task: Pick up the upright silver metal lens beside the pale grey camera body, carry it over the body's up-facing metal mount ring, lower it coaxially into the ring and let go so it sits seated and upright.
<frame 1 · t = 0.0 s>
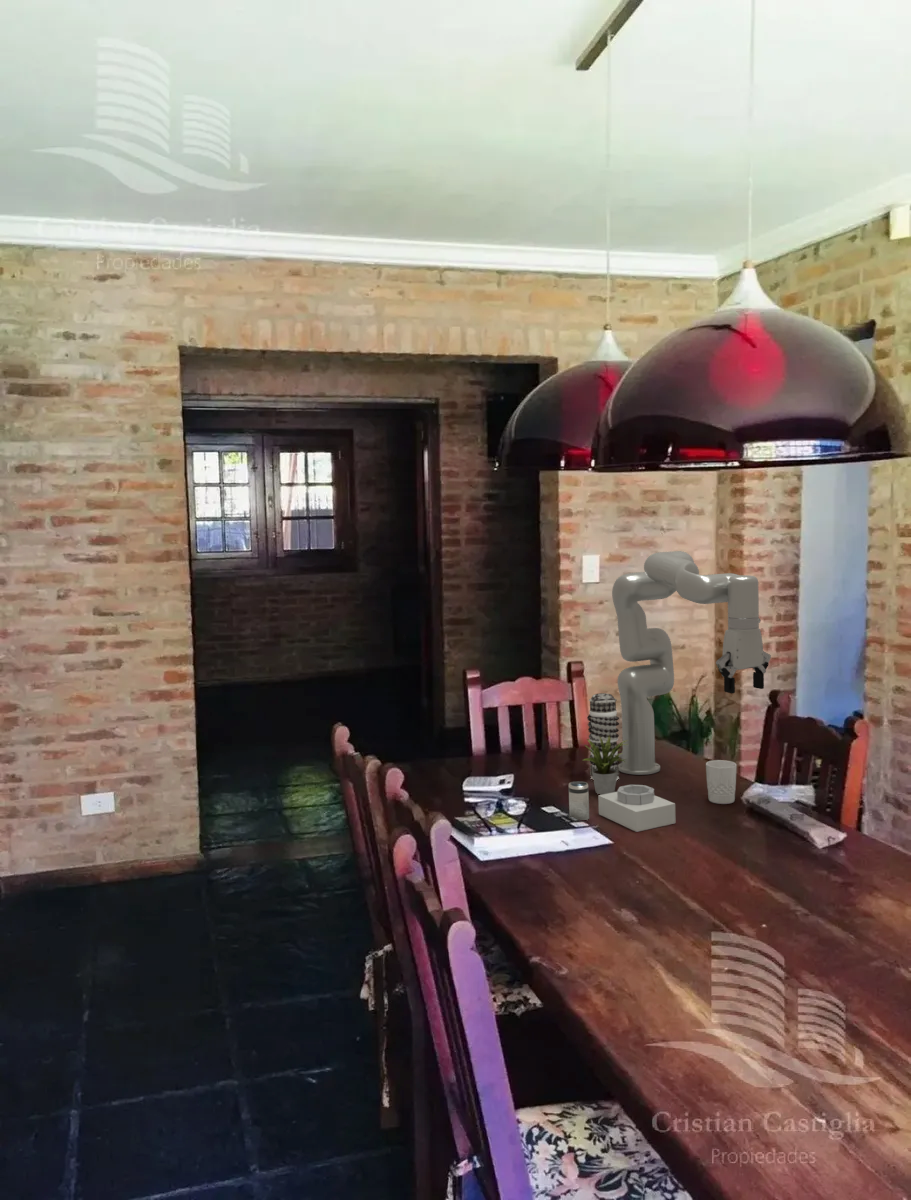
hand: (744, 690, 236), 31 cm above the table, fingers open, 9 cm apart
house plant: (607, 794, 257), on the table
decorative candle: (604, 779, 272), on the table
lens: (579, 818, 237), on the table
white cup: (721, 801, 247), on the table
camera body: (636, 818, 235), on the table
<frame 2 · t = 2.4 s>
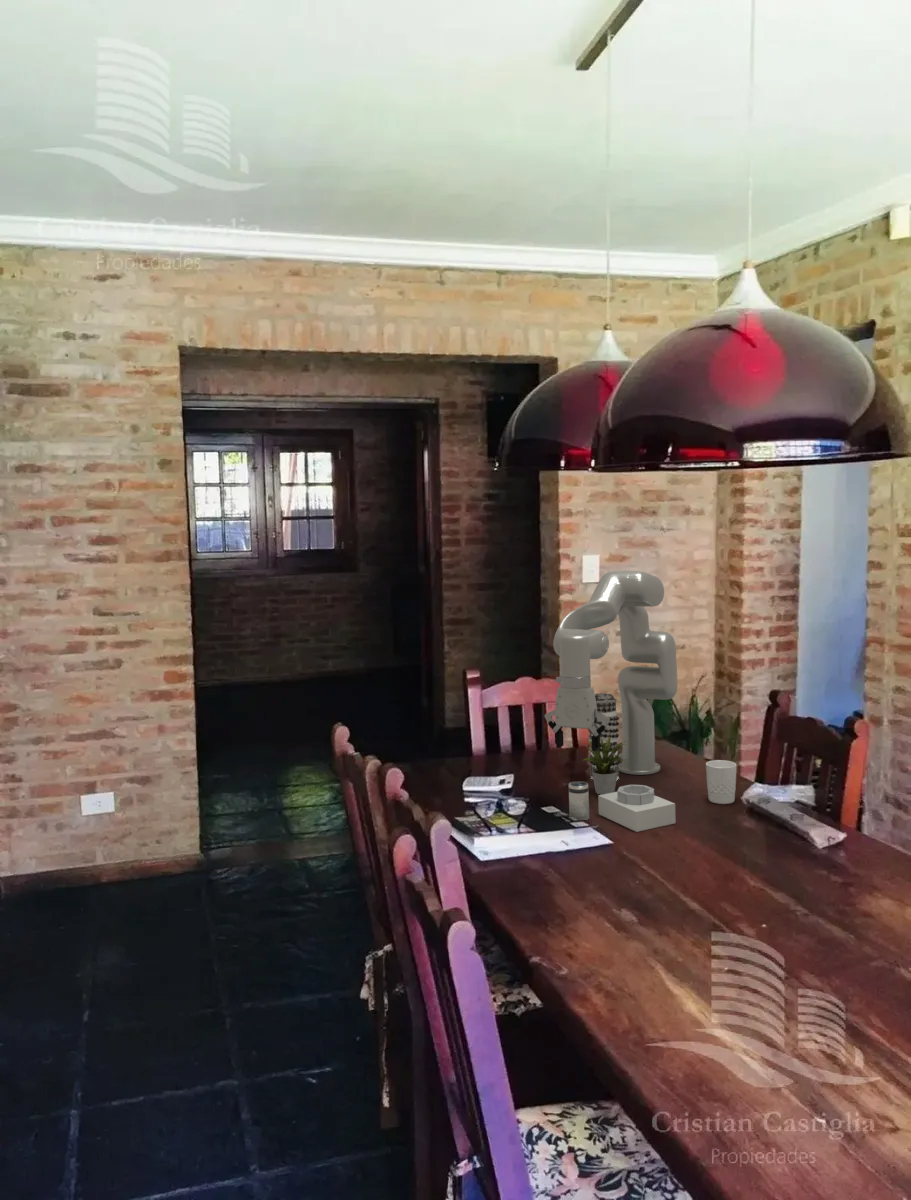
hand: (577, 748, 235), 18 cm above the table, fingers open, 9 cm apart
nothing on the table moved.
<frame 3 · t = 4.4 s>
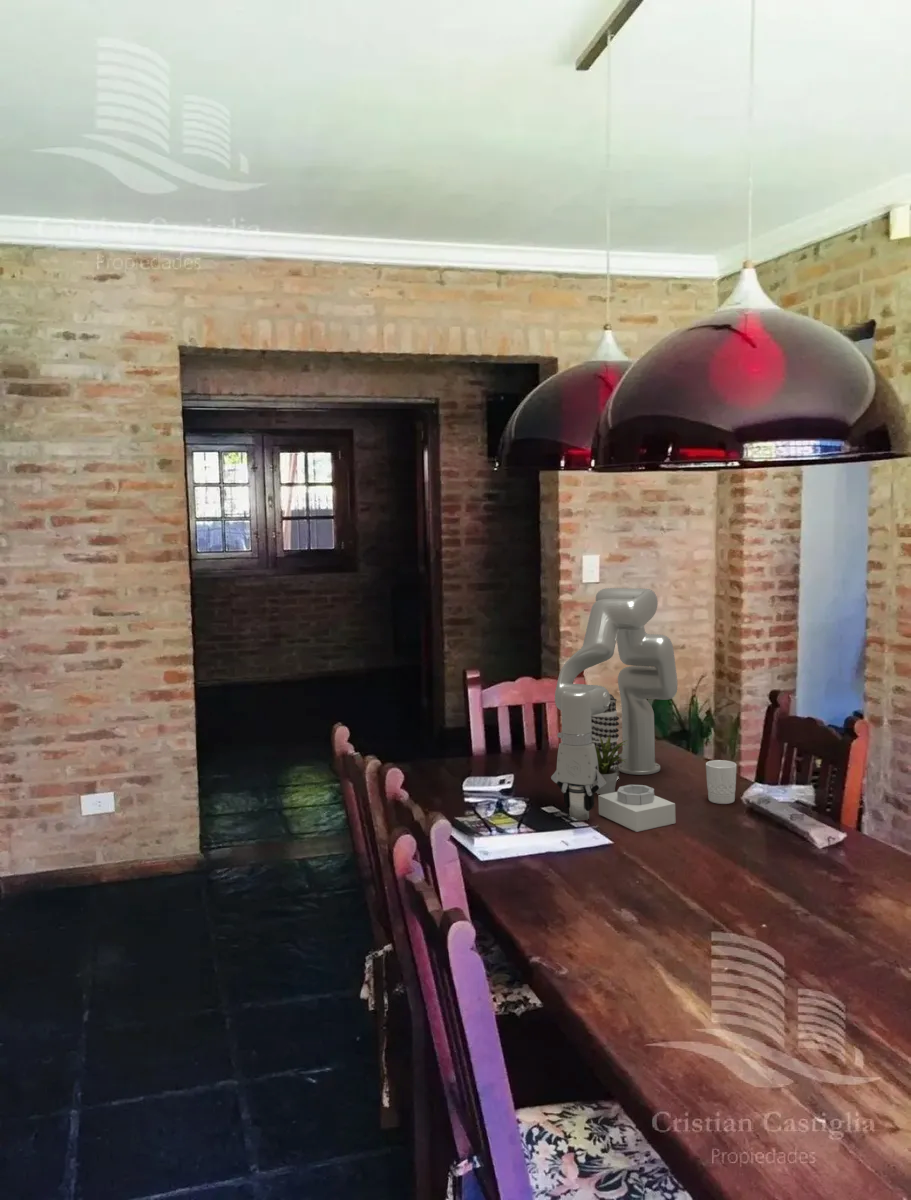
hand: (579, 807, 237), 3 cm above the table, fingers closed on lens, 5 cm apart
lens: (579, 818, 237), on the table, touching gripper
everything else where it was.
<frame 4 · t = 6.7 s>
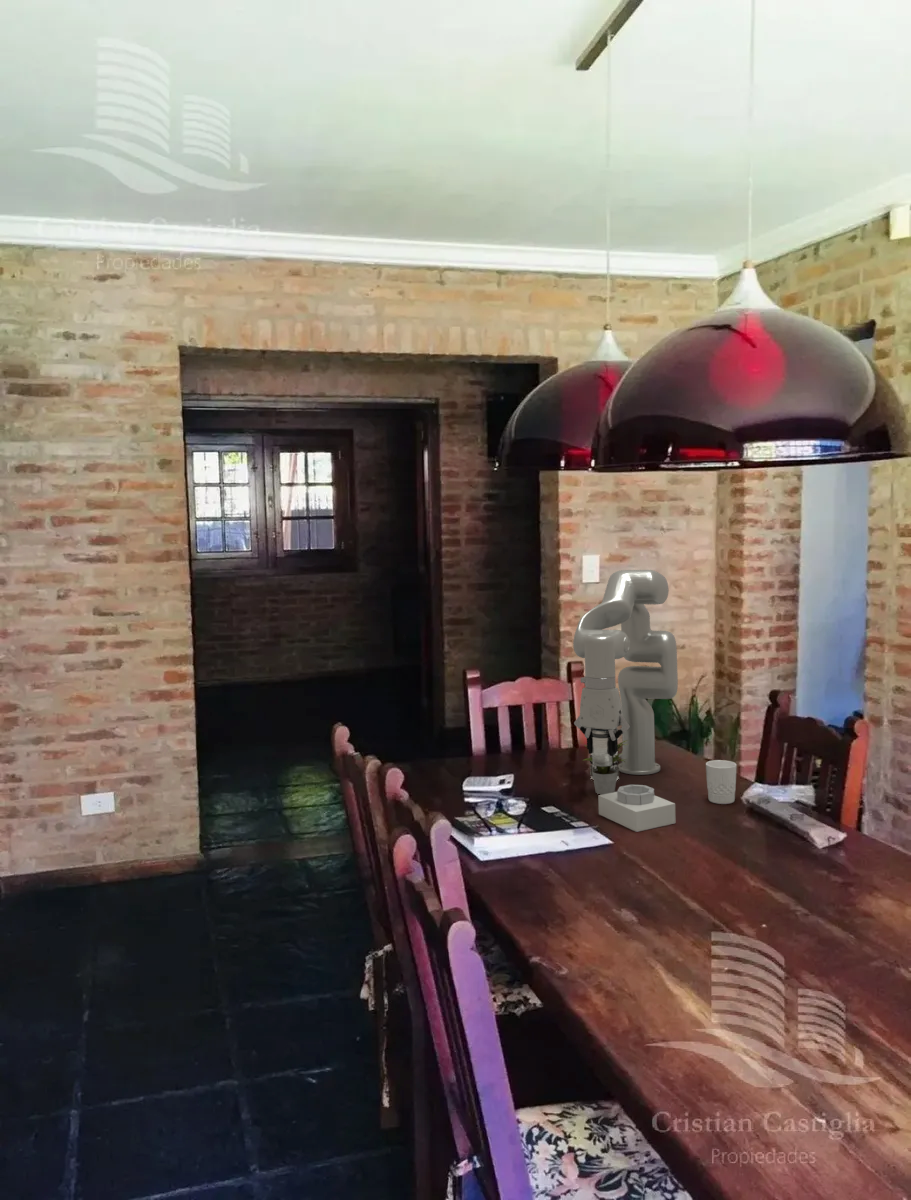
hand: (602, 752, 235), 17 cm above the table, fingers closed on lens, 5 cm apart
lens: (602, 763, 235), point 14 cm above the table, touching gripper
everything else where it was.
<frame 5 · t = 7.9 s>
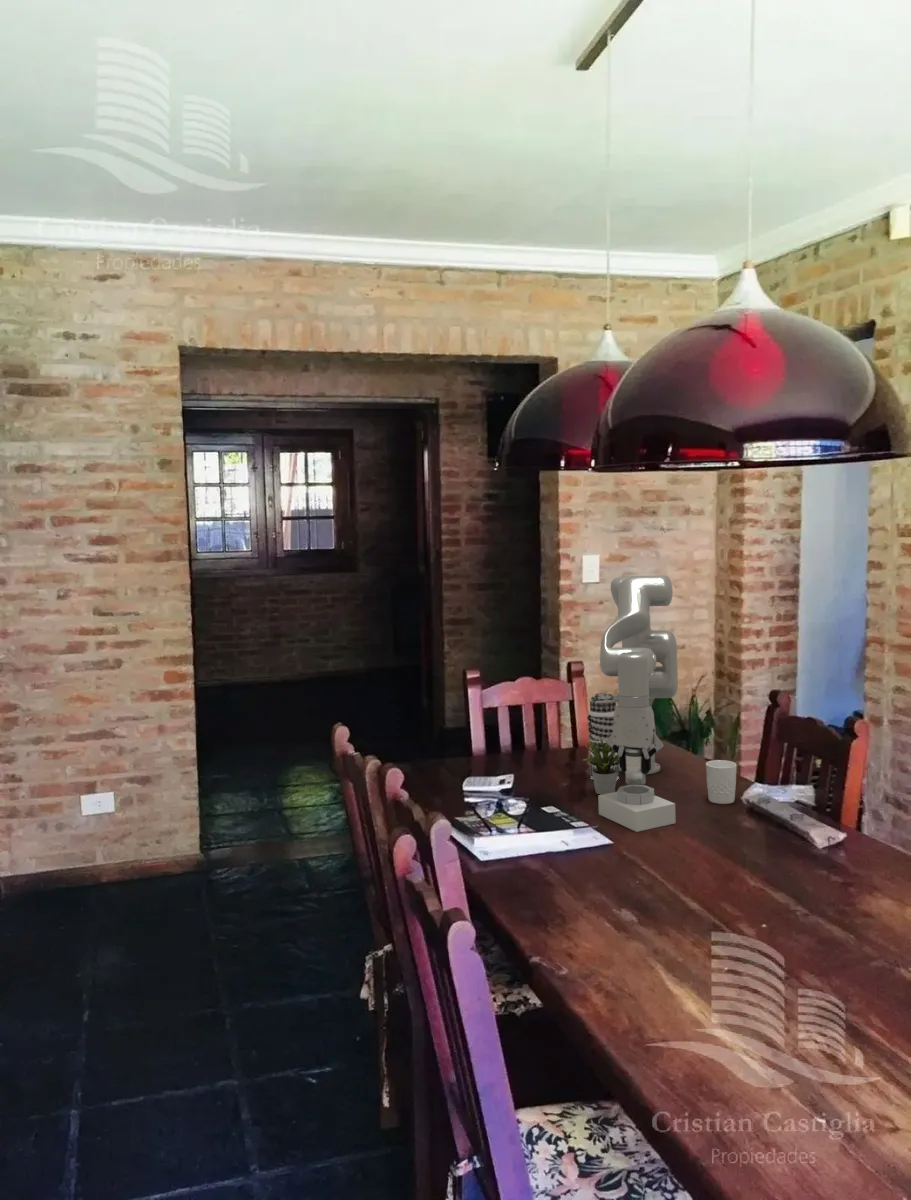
hand: (635, 771, 234), 12 cm above the table, fingers closed on lens, 5 cm apart
lens: (635, 782, 234), point 9 cm above the table, touching gripper
everything else where it was.
when the fingers open (9 cm above the table, at t = 8.9 s): lens drops 1 cm, resting on camera body.
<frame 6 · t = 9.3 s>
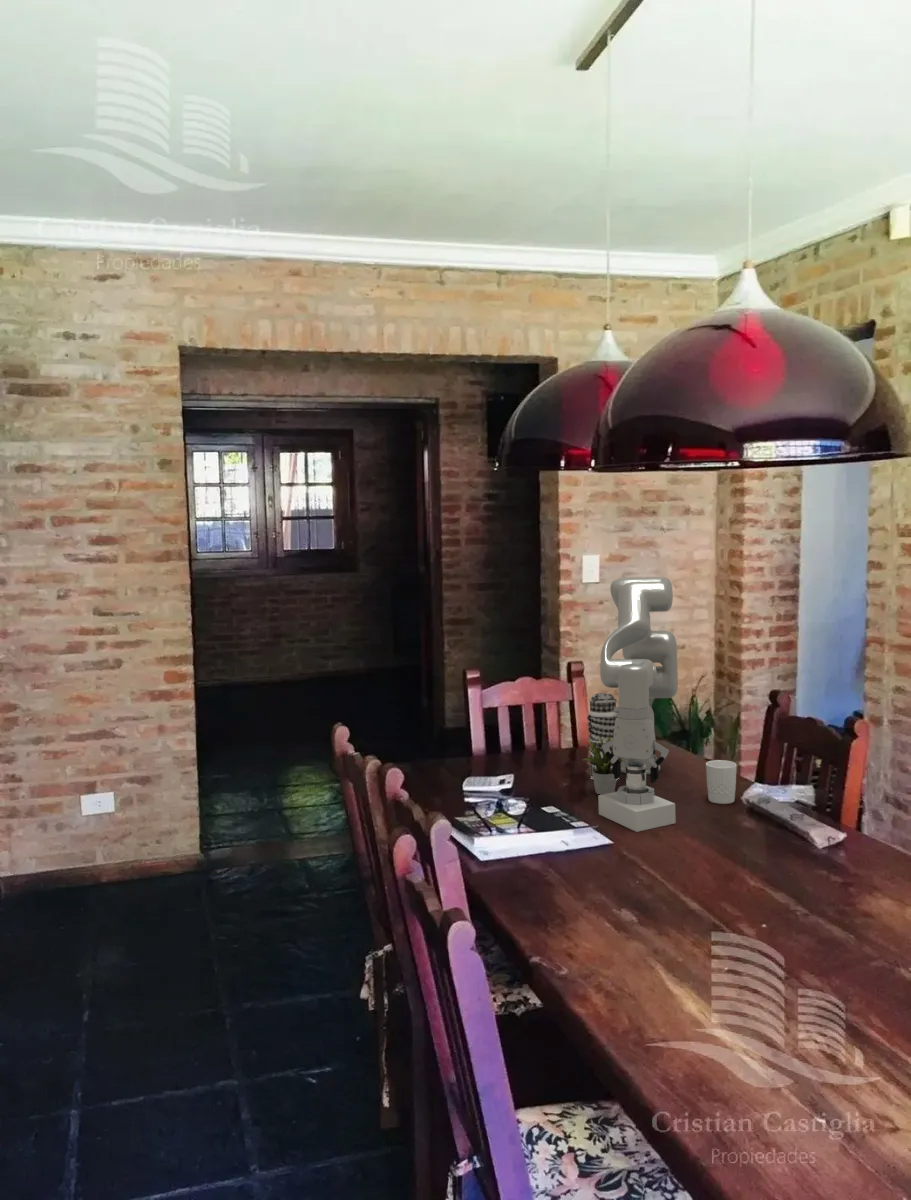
hand: (635, 779, 234), 10 cm above the table, fingers open, 9 cm apart
lens: (636, 799, 235), point 5 cm above the table, touching camera body
everything else where it was.
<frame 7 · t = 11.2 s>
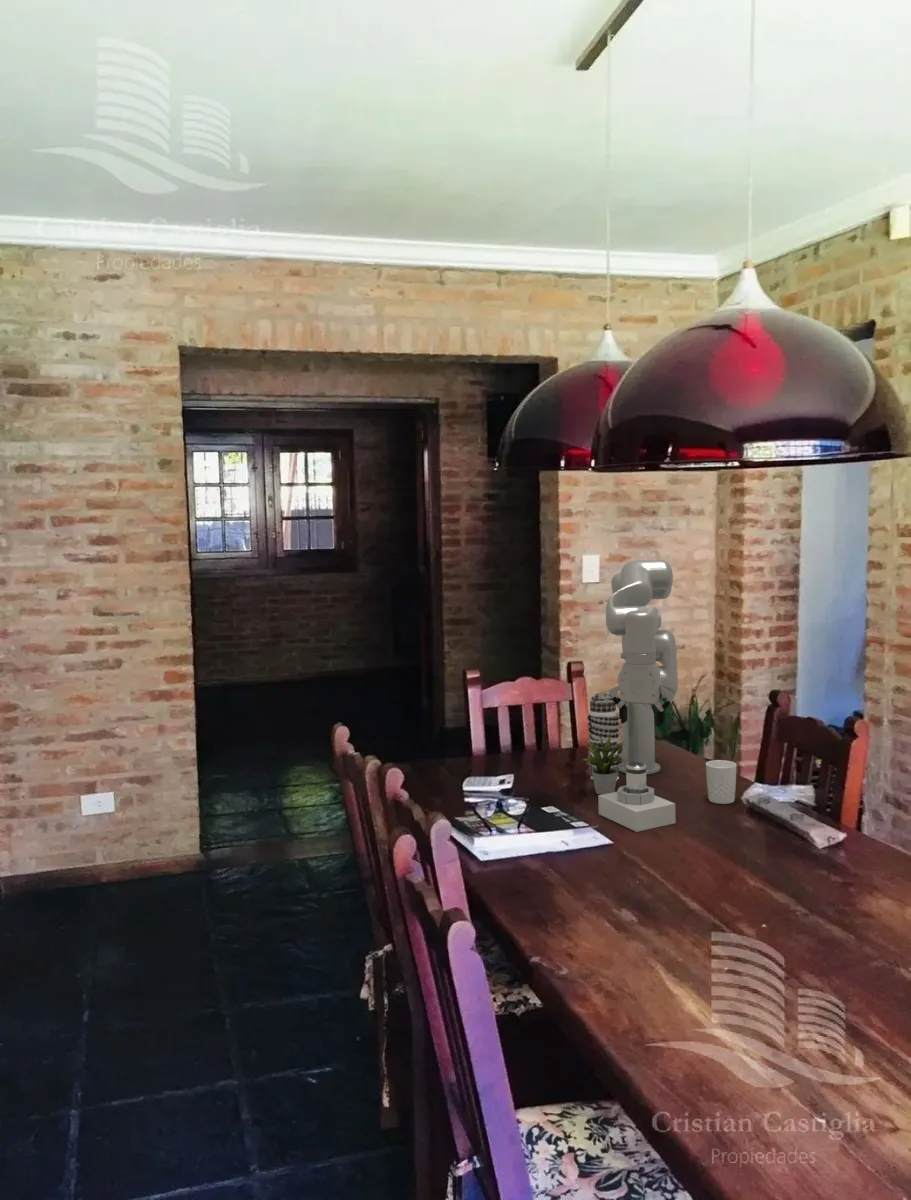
hand: (642, 723, 239), 23 cm above the table, fingers open, 9 cm apart
nothing on the table moved.
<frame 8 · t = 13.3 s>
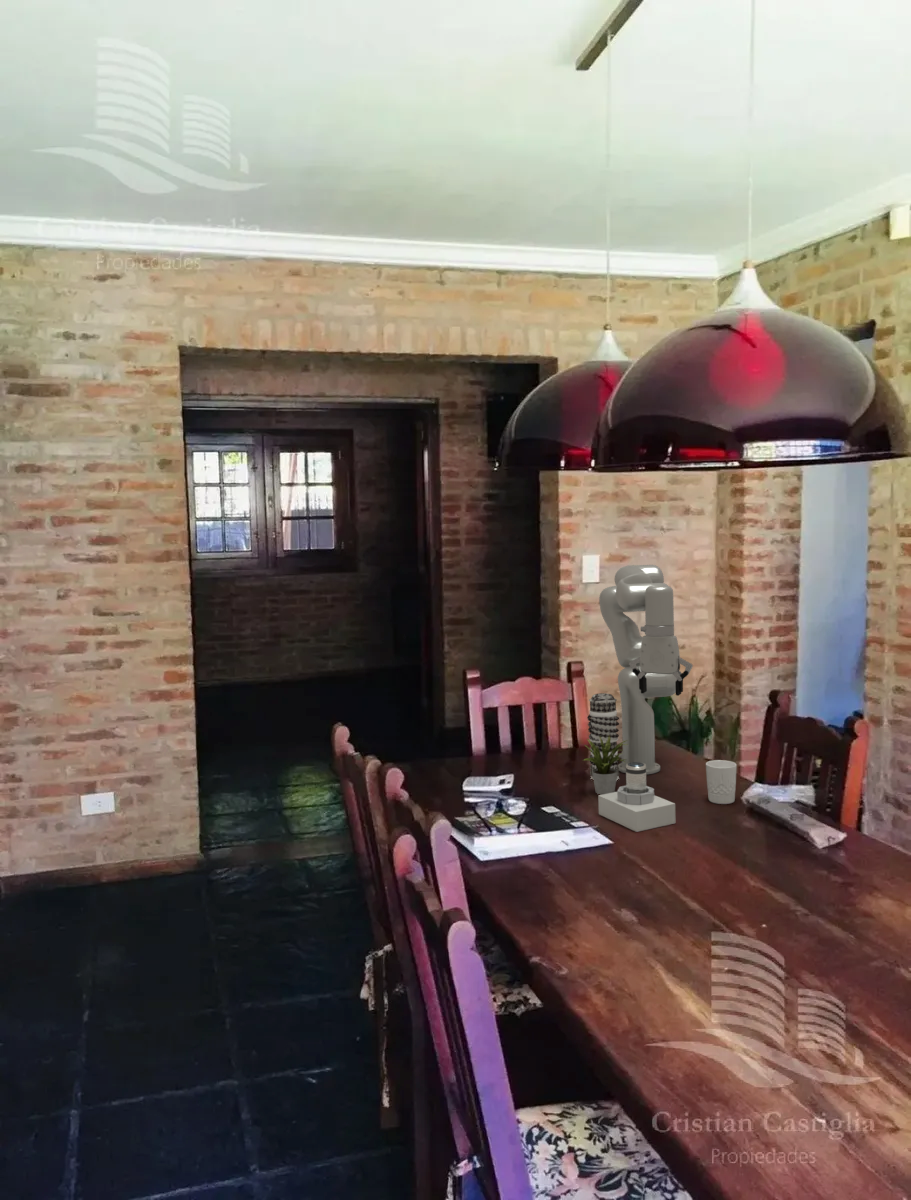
hand: (661, 693, 251), 28 cm above the table, fingers open, 9 cm apart
nothing on the table moved.
at the end: lens 0.1 cm off-centre on the camera body, point 5.0 cm above the camera body's base; lens tilted 1°; the gripper is holding nothing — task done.
